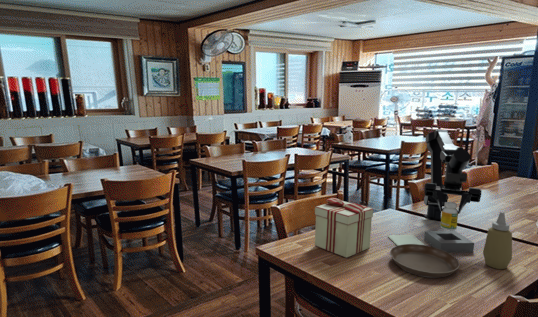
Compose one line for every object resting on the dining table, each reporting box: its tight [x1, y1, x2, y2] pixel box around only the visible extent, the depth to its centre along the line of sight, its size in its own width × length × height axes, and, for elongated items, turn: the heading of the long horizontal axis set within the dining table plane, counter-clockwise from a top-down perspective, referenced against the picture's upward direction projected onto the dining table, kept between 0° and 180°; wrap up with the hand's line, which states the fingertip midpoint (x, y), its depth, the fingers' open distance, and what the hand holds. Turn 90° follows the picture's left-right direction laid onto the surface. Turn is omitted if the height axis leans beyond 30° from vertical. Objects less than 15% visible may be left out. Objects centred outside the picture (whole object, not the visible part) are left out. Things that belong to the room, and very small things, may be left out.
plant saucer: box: [389, 244, 460, 279], centre depth 118 cm, size 21×21×3 cm
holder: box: [423, 230, 475, 254], centre depth 134 cm, size 12×12×4 cm
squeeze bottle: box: [482, 211, 513, 270], centre depth 117 cm, size 8×8×18 cm
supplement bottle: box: [440, 201, 459, 231], centre depth 133 cm, size 5×5×10 cm
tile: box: [387, 234, 425, 246], centre depth 138 cm, size 10×10×1 cm
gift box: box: [314, 197, 374, 259], centre depth 132 cm, size 17×18×17 cm
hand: (449, 212), depth 131 cm, fingers closed on supplement bottle, 5 cm apart
